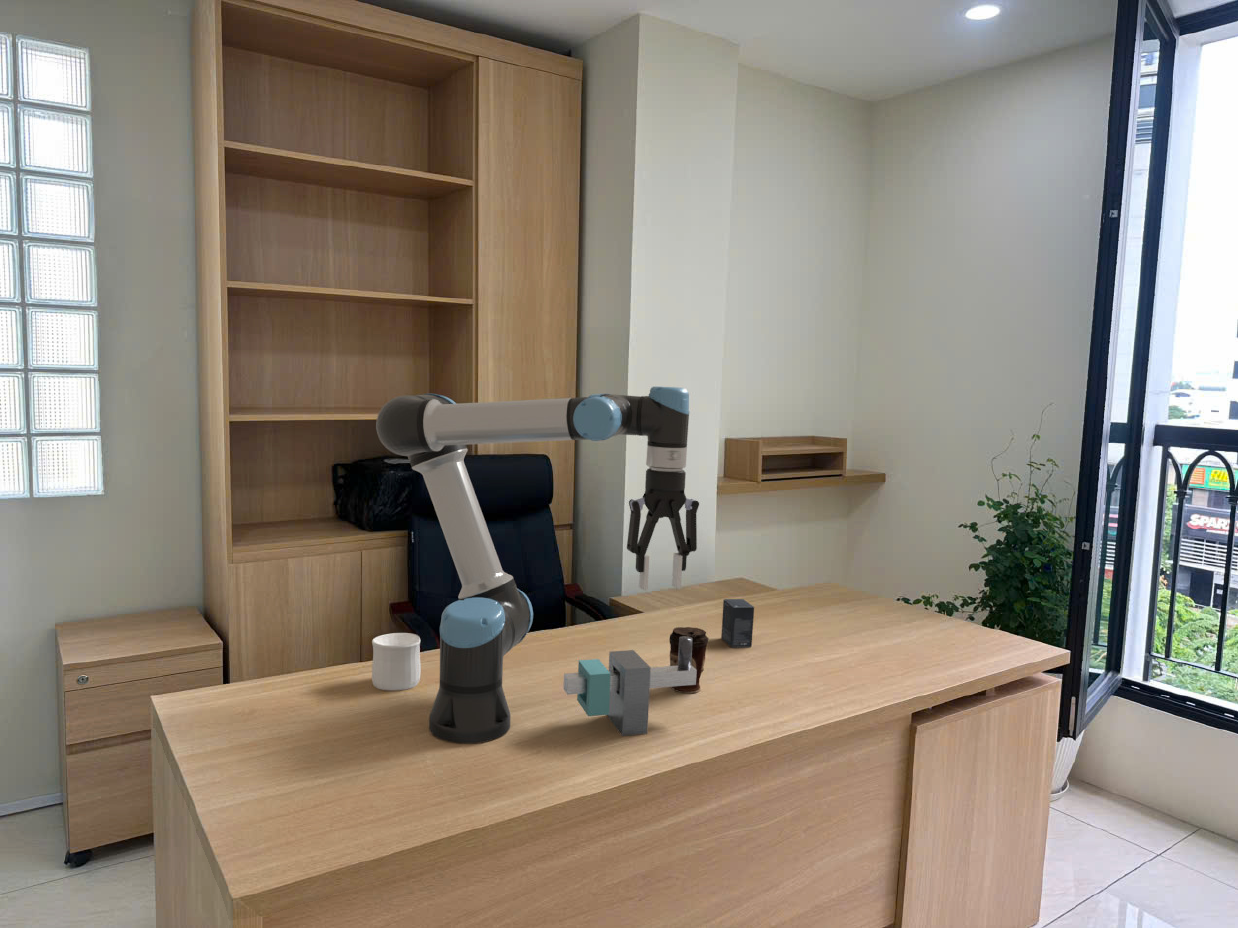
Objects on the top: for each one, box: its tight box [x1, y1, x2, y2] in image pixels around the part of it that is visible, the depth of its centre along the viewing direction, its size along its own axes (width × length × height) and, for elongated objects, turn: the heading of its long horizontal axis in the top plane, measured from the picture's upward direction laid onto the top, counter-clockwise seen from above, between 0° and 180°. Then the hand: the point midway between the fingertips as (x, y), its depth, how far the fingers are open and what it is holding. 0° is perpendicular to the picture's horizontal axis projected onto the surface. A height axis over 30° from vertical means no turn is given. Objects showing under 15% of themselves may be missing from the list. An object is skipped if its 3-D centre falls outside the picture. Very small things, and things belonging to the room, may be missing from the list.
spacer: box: [576, 658, 611, 717], centre depth 163 cm, size 4×8×8 cm, turn 18°
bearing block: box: [606, 649, 652, 737], centre depth 165 cm, size 5×10×13 cm, turn 18°
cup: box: [371, 632, 422, 692], centre depth 181 cm, size 10×10×10 cm
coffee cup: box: [668, 626, 709, 694], centre depth 185 cm, size 9×8×13 cm
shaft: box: [563, 636, 697, 696], centre depth 165 cm, size 26×3×9 cm, turn 108°
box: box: [720, 598, 755, 648], centre depth 218 cm, size 8×6×11 cm
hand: (659, 587), depth 164 cm, fingers open, 6 cm apart
